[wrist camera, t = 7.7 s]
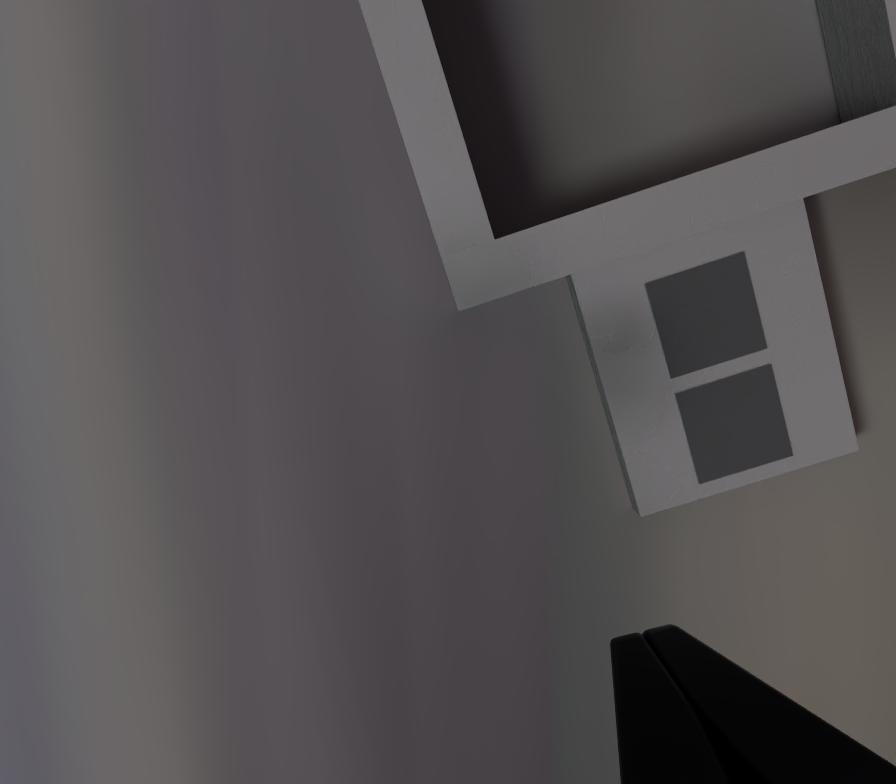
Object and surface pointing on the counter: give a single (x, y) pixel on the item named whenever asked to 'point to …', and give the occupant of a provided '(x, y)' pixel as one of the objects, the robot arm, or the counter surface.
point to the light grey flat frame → (676, 269)
